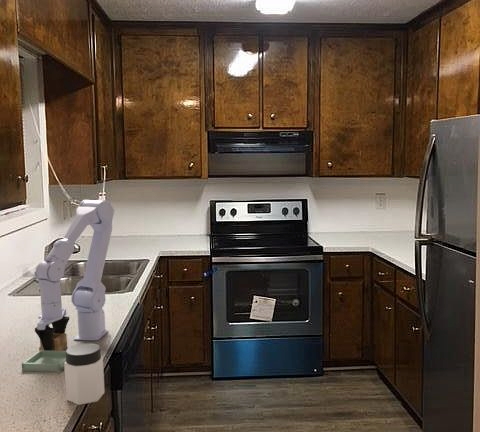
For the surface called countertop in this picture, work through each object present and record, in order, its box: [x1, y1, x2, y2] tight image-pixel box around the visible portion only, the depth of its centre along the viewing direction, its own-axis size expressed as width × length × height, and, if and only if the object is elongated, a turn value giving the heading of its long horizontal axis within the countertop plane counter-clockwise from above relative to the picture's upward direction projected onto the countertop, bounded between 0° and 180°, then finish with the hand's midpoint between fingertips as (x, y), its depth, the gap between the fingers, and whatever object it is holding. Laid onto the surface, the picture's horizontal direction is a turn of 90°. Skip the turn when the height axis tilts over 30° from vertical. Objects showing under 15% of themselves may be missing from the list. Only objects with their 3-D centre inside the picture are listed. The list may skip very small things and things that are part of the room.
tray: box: [21, 350, 66, 373], centre depth 151 cm, size 10×11×2 cm
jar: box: [64, 342, 105, 406], centre depth 130 cm, size 9×8×12 cm
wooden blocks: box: [38, 332, 68, 351], centre depth 161 cm, size 6×7×4 cm
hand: (53, 345), depth 161 cm, fingers open, 7 cm apart
